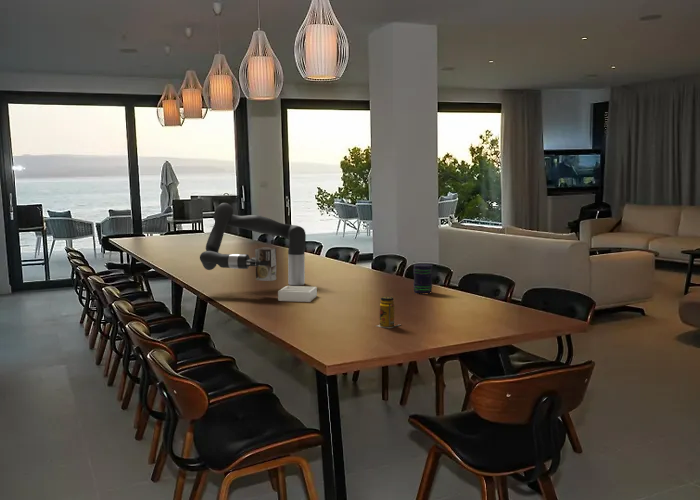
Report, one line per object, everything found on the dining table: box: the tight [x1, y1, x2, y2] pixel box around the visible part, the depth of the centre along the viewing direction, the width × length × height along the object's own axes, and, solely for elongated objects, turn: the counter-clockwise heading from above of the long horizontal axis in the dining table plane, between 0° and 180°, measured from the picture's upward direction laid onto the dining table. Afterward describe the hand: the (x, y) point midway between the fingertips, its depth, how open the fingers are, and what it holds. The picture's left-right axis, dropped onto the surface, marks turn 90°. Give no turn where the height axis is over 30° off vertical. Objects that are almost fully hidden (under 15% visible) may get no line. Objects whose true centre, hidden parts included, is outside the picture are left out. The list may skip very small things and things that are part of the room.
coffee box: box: [254, 247, 277, 282], centre depth 333 cm, size 9×6×16 cm
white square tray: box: [277, 285, 318, 303], centre depth 330 cm, size 16×16×5 cm
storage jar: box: [412, 263, 433, 294], centre depth 347 cm, size 10×10×15 cm
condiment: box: [376, 296, 400, 329], centre depth 271 cm, size 7×8×12 cm
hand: (270, 262), depth 333 cm, fingers closed on coffee box, 7 cm apart
